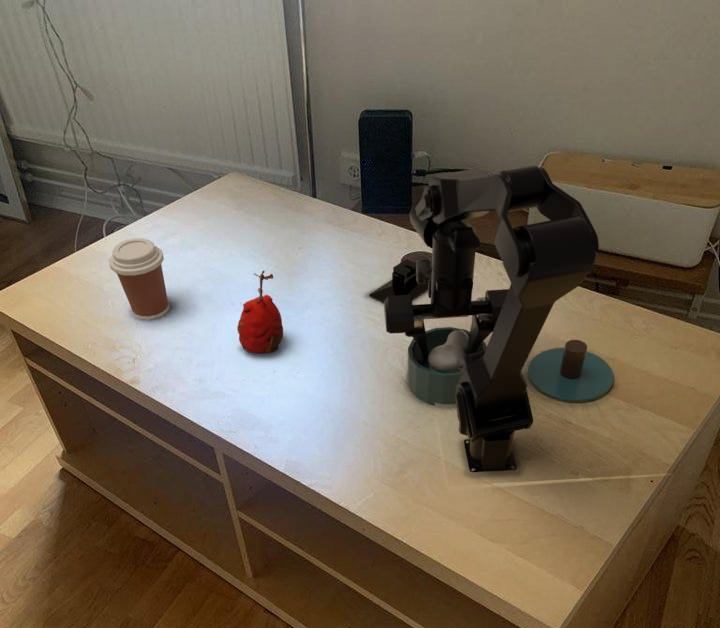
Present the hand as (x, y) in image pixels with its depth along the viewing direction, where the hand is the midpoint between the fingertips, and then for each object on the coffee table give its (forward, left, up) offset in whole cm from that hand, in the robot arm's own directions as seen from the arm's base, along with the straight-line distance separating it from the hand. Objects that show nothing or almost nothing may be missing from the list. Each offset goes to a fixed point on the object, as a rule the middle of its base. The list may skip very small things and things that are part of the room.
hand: (447, 358), depth 109 cm
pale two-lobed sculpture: (0, -1, -1) cm, 1 cm away
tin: (0, 0, -5) cm, 5 cm away
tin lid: (-1, -19, -4) cm, 19 cm away
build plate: (+27, +4, -5) cm, 28 cm away
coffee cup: (+25, +50, -5) cm, 56 cm away
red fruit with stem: (+12, +29, -5) cm, 32 cm away
